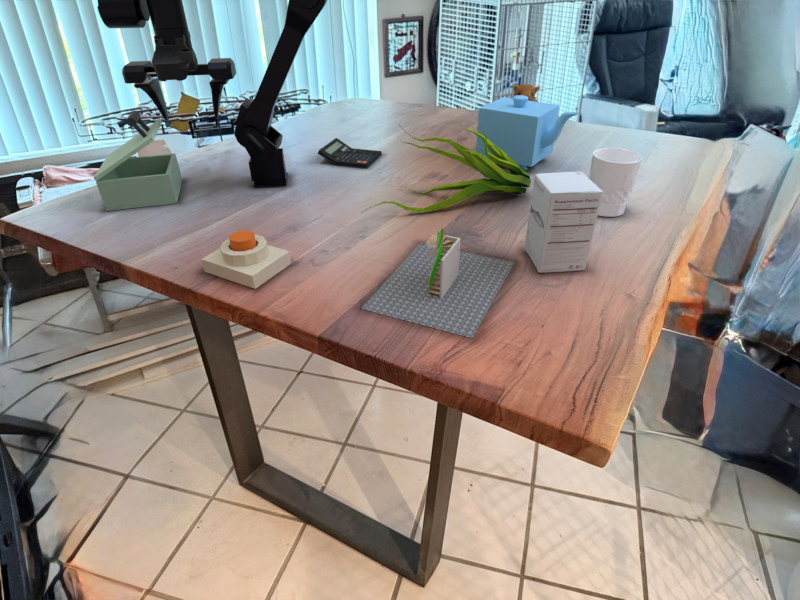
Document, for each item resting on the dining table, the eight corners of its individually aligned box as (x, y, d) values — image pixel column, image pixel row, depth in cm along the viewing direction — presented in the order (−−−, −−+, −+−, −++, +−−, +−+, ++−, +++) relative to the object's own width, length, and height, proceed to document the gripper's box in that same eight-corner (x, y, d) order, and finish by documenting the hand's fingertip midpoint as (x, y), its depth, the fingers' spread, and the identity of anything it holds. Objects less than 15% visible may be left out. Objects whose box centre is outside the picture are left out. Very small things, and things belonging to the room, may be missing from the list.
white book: (361, 308, 68) (357, 255, 63) (420, 243, 83) (420, 196, 78) (472, 338, 63) (477, 283, 58) (514, 262, 77) (520, 213, 73)
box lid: (162, 121, 100) (143, 100, 97) (154, 140, 90) (133, 117, 87) (110, 158, 101) (90, 139, 99) (96, 181, 91) (73, 160, 89)
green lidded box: (182, 180, 107) (175, 153, 104) (177, 203, 97) (169, 174, 94) (118, 186, 105) (109, 159, 101) (106, 211, 95) (95, 181, 91)
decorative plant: (377, 184, 104) (374, 109, 96) (526, 189, 101) (536, 112, 92) (361, 222, 89) (355, 138, 81) (534, 230, 86) (547, 142, 78)
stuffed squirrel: (495, 146, 123) (500, 88, 115) (498, 129, 134) (504, 75, 127) (537, 148, 121) (546, 89, 114) (537, 131, 132) (545, 76, 125)
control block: (291, 263, 78) (287, 240, 76) (255, 289, 72) (250, 264, 70) (242, 248, 82) (237, 226, 80) (204, 271, 76) (198, 248, 74)
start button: (261, 244, 76) (259, 233, 75) (244, 254, 73) (242, 243, 72) (243, 238, 77) (241, 228, 76) (225, 249, 75) (223, 238, 74)
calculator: (366, 168, 111) (366, 154, 110) (318, 163, 115) (317, 150, 113) (381, 154, 119) (381, 141, 117) (335, 150, 122) (334, 137, 120)
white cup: (627, 203, 95) (641, 150, 89) (628, 221, 88) (643, 165, 83) (583, 198, 97) (593, 145, 91) (580, 215, 91) (592, 160, 85)
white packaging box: (522, 249, 81) (533, 172, 74) (568, 247, 81) (583, 170, 74) (537, 274, 75) (550, 192, 67) (586, 271, 75) (605, 190, 68)
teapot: (464, 160, 115) (468, 96, 107) (487, 147, 122) (492, 86, 114) (558, 181, 104) (570, 111, 96) (578, 165, 112) (590, 98, 104)
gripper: (98, 35, 82) (128, 134, 90) (218, 31, 84) (236, 128, 92) (119, 26, 91) (145, 117, 100) (228, 23, 93) (243, 112, 101)
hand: (192, 119), depth 98 cm, fingers open, 9 cm apart
